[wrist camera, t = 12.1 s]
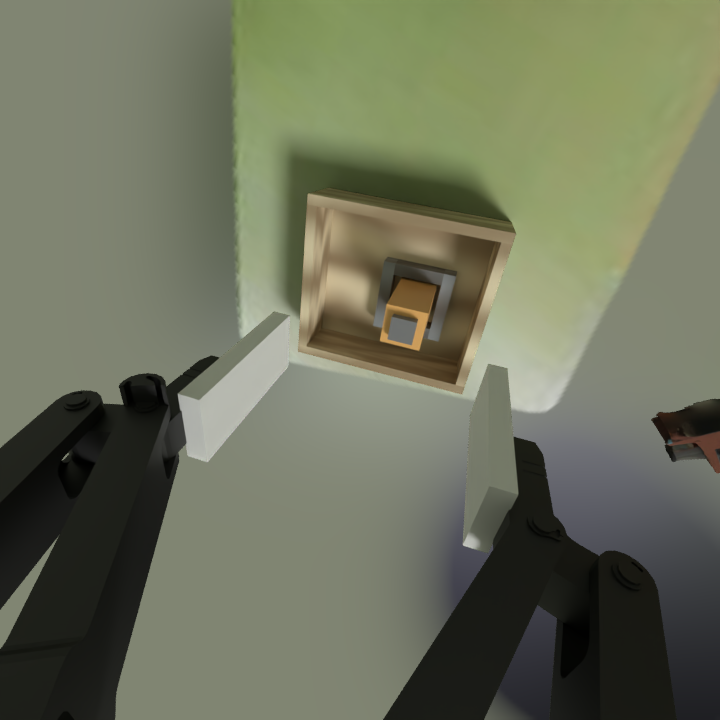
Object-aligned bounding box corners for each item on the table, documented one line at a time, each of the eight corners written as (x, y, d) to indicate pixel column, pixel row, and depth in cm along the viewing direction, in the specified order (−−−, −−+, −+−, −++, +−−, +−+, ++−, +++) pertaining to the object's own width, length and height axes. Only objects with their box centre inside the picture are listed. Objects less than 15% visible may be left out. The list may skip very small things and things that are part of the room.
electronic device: (664, 438, 41) (678, 485, 44) (782, 413, 37) (791, 467, 40) (648, 412, 45) (663, 457, 48) (754, 387, 41) (764, 438, 44)
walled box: (327, 187, 43) (307, 193, 38) (511, 222, 40) (516, 233, 35) (315, 331, 52) (298, 351, 47) (463, 368, 49) (461, 394, 44)
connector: (404, 273, 45) (385, 306, 36) (438, 281, 44) (427, 317, 35) (397, 305, 47) (378, 344, 38) (430, 313, 46) (418, 354, 37)
